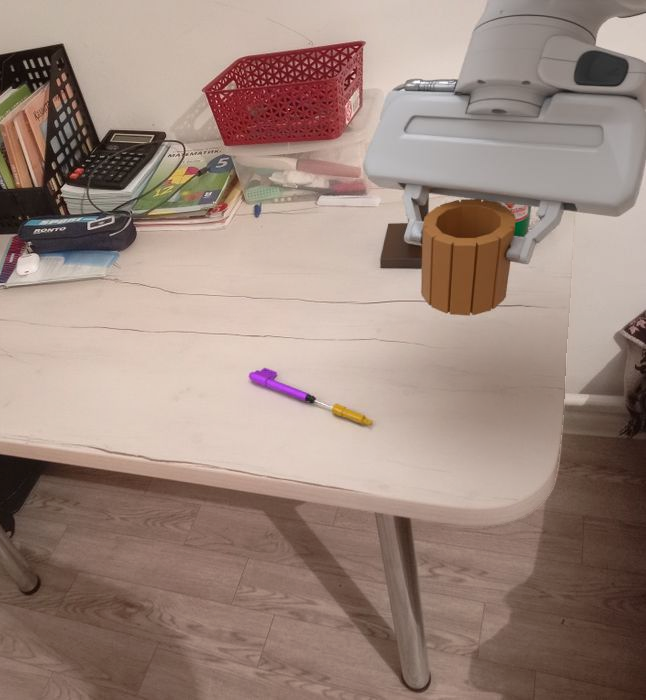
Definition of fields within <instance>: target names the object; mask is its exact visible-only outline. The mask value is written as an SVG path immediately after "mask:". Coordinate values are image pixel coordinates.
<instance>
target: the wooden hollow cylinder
mask: <svg viewBox="0 0 646 700" xmlns="http://www.w3.org/2000/svg"><path fill="white" fill-rule="evenodd" d="M514 230H515V216H514V214H513V213H512V212H511V211H510V210H509V209H508V208H507V207H505V206H502V204H499V203H495V202H491V201H488V200H481V199H470V198H463V199H460V200H459V199H456V200H453V201H449V202H445V203H442V204H440V205H439V206H436V207H434V208H433V209H432V210H430V211H429V213H428V214H427V215H426V216H425V218H424V222H423V228H422V268H421V283H420V284H421V287H420V289H421V290H420V293H421V296H422V298H423V299H424V301H425V302H426V303H427V305H428V306H430V307H431V308H433V309H435V310H437V311H439V312H441V313H444V314H449V315H451V316H452V315H455V316H467V317H468V316H471V315H472V316H476V315H479V314H482V313H487V312H490V311H492V310H494V309H495V308H497V307H498V306H499V305H500V304H501V303H502V302H503V301H505V299H506V297H507V291H508V283H509V276H510V268H511V261H508V260H507V259H506V254H507V250H508V249H509V248H510V247H511V246H510V242H511V240H512V237H513V236H514Z"/></svg>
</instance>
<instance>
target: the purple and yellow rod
mask: <svg viewBox="0 0 646 700" xmlns="http://www.w3.org/2000/svg"><path fill="white" fill-rule="evenodd" d="M277 376H278V372H277V371H275V370H272V369H270V368H267V367H263V368H262V369H261V370H258V369H256V370H255V371H251V372H249V374H248V379H249V380H250V381H251V382H254V383H256V384H258V385H261V386H264V387H268V388H271V389H273V390H275V391H279V392H281V393H283V394H286V395H288V396H291V397H293V398H295V399H297V400H300V401H303V402H308V403H310V404H315V403H318V404H319V405H322V406H324V407H327V408H330V409H331V413H332V414H334V415H336V416H339V417H341V418H346V419H349V420H351V421H353V422H355V423H358V424H362V425H363V424H365V425H367V426H368V425H369V426H371V425H372V424H373V423H374V420H373V419H370V418H368V417H366V415H364V414H362V413H360V412H357V411H354V410H351V409H350V408H348V407H346V406H344V405H341V404H338V403H335V404H333V406H332V405H330V404H327V403H326V402H325V403H324V402H322V401H319V400H317V398H316V397H315V396H314V395H311V394H310V393H309V392H307V391H303V390H301V389H298V388H295V387H293V386H290V385H289V384H285V383H283V382H280V381H278V380H275V379H274V378H275V377H277Z"/></svg>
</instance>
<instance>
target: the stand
mask: <svg viewBox="0 0 646 700" xmlns="http://www.w3.org/2000/svg"><path fill="white" fill-rule="evenodd" d="M418 206H419V211H420V215H421V220H422V222H424V218H425V216H426V215H427V214H428V213H429V212H430V211H429V210H430V209H429V208H430V194H429V195H428V198H427V201H426V204H425V205H419V204H418ZM408 222H409V220H408V219H407V222H404V223H403V222H399V223H398V222H395V223H390V222H389V223H387V226H386V227H387V228H386V232H385V237H384V240H383V245H382V250H381V253H380V257H379V264H380V265H379V266H380V268H381V269H422V246H421V245H414V244H409V243H407V242H405V241H404V235H405V232H406V228H407V225H408Z"/></svg>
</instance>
